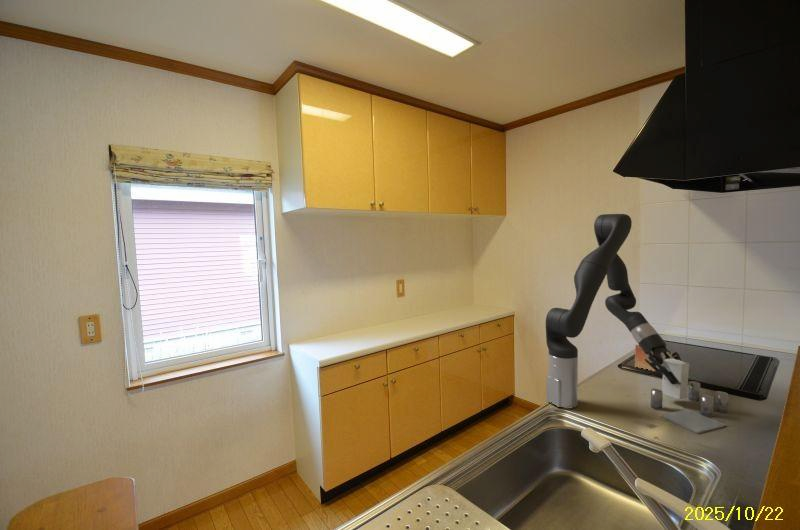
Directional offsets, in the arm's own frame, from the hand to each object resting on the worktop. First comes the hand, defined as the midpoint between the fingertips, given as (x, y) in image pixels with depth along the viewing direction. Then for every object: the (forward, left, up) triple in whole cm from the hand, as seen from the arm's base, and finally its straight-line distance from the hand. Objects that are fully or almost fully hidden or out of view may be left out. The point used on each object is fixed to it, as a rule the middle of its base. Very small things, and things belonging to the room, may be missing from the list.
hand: (681, 382), depth 123 cm
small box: (+24, +31, -8) cm, 40 cm away
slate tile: (-8, -9, -8) cm, 14 cm away
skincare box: (0, +2, -5) cm, 6 cm away
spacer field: (0, -3, -8) cm, 9 cm away
